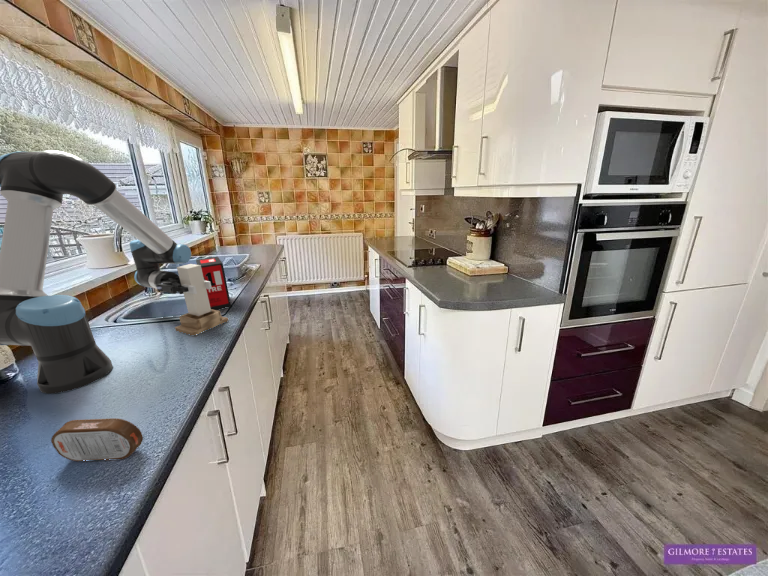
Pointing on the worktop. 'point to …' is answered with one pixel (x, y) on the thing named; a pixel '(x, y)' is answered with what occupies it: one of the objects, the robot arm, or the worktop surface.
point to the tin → (97, 439)
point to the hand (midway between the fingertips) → (202, 287)
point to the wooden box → (200, 322)
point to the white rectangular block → (194, 277)
